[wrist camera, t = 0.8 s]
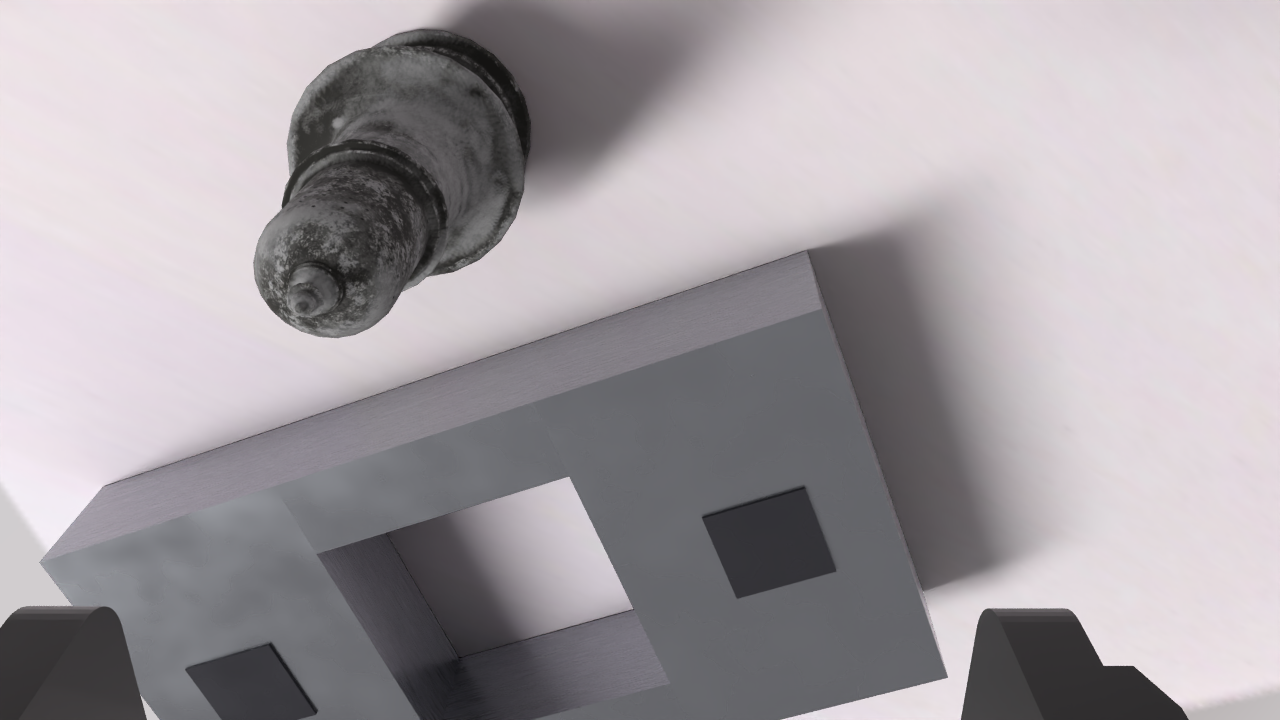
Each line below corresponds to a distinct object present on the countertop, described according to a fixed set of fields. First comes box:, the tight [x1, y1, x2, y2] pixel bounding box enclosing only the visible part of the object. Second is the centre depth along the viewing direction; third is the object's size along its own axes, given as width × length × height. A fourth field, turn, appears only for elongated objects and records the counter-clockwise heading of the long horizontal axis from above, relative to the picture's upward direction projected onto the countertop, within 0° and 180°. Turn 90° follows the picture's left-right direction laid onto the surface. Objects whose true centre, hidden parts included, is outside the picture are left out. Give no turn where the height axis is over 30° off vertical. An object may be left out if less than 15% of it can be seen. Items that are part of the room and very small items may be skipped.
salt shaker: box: [253, 30, 531, 338], centre depth 25 cm, size 6×6×12 cm
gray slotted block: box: [39, 251, 948, 720], centre depth 35 cm, size 24×13×4 cm, turn 111°
